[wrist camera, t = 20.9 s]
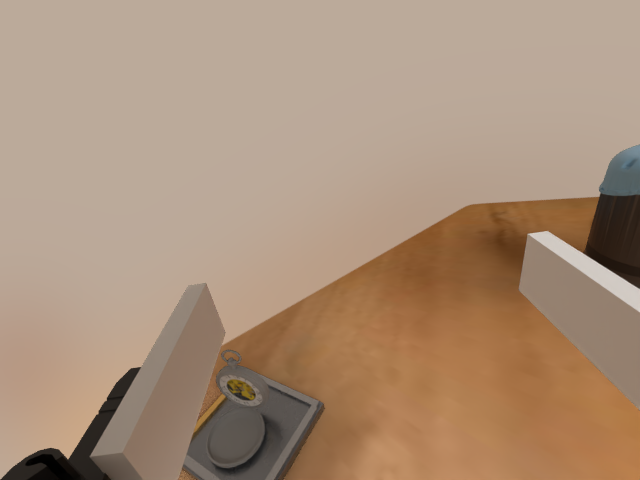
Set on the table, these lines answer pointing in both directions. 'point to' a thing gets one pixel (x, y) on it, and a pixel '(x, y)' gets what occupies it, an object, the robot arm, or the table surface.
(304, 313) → the table surface
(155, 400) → the robot arm
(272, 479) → the pocket plate
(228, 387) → the pocket watch
